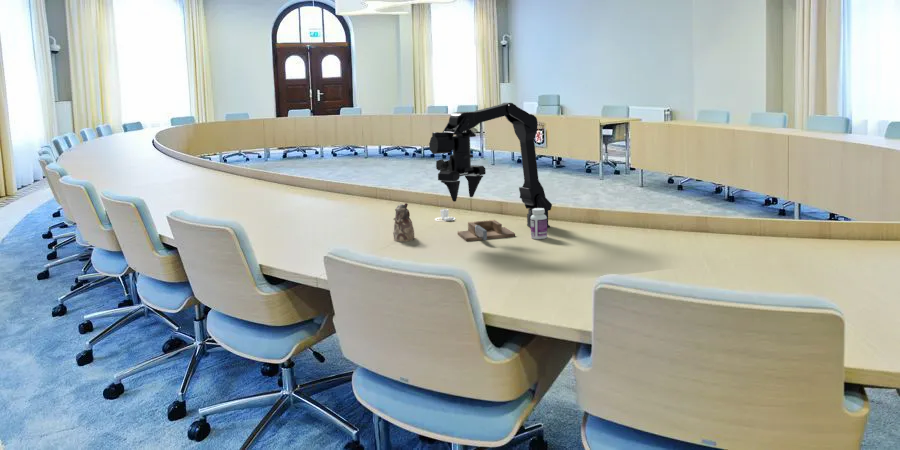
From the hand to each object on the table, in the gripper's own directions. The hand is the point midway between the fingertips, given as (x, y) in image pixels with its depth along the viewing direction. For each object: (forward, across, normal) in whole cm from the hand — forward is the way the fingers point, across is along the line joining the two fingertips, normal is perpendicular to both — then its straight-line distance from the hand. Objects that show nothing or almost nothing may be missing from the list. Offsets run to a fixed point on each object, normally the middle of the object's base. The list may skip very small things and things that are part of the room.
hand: (463, 199), depth 226 cm
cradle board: (+13, -8, +3) cm, 16 cm away
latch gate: (+12, 0, +7) cm, 14 cm away
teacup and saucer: (+14, -20, -27) cm, 36 cm away
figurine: (+14, +9, -19) cm, 25 cm away
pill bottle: (+14, -14, +21) cm, 28 cm away
